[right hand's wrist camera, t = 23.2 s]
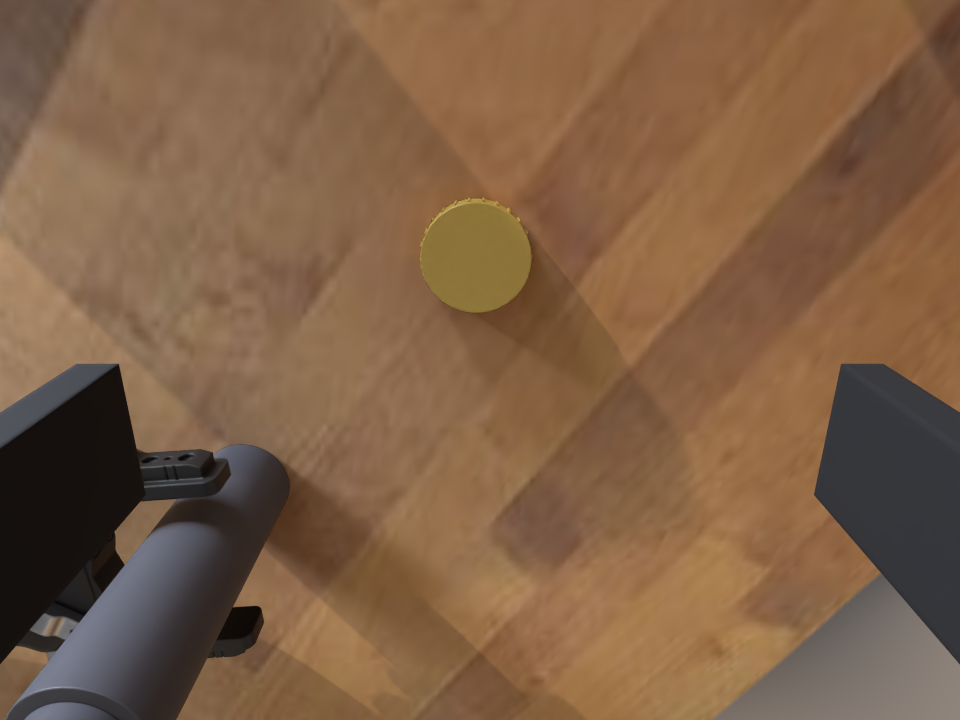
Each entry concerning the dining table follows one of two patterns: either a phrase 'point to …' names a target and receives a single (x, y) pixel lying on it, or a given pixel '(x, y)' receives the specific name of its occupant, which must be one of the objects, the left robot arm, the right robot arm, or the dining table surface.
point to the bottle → (164, 604)
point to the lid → (476, 255)
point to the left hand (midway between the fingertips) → (241, 554)
